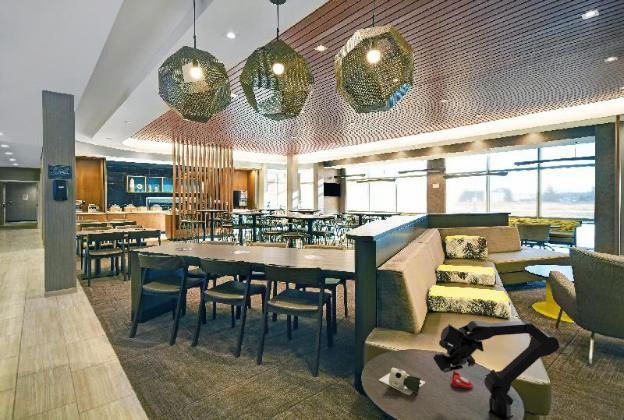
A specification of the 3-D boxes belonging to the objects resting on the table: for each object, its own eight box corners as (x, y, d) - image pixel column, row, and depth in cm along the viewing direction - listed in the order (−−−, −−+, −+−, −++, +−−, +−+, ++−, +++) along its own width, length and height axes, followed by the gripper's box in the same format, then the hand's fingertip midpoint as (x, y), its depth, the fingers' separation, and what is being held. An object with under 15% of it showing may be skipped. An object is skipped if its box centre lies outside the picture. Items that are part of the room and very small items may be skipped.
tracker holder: (478, 385, 146) (464, 385, 141) (474, 393, 146) (460, 394, 141) (456, 367, 156) (442, 367, 152) (453, 375, 157) (439, 375, 152)
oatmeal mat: (425, 383, 149) (425, 382, 149) (408, 395, 140) (408, 394, 140) (395, 370, 161) (395, 369, 161) (378, 380, 152) (378, 379, 152)
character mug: (417, 387, 136) (387, 376, 143) (417, 401, 138) (387, 390, 144) (423, 371, 145) (394, 361, 152) (422, 384, 147) (394, 374, 153)
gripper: (467, 330, 140) (447, 352, 148) (435, 333, 132) (416, 356, 139) (485, 354, 132) (463, 375, 139) (452, 359, 123) (431, 381, 131)
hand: (443, 371), depth 137 cm, fingers closed
